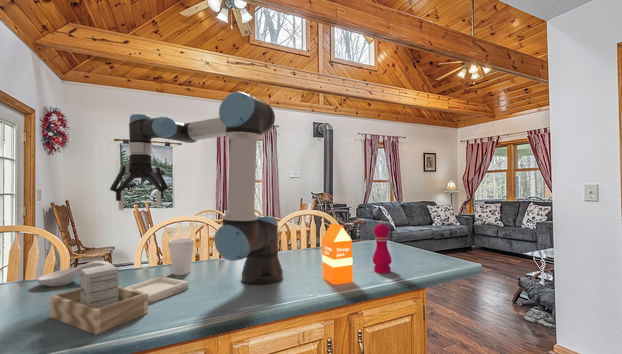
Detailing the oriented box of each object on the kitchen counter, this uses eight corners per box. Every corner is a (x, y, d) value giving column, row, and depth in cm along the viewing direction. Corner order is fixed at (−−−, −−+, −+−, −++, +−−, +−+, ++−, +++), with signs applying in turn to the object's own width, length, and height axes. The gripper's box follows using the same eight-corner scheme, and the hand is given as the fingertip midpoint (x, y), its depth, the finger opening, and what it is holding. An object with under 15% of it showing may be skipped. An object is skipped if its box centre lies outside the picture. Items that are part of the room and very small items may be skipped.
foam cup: (198, 269, 124) (198, 238, 125) (187, 276, 115) (186, 242, 116) (176, 269, 125) (176, 238, 126) (163, 276, 116) (163, 242, 116)
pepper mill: (394, 270, 119) (393, 219, 120) (388, 275, 113) (387, 221, 114) (376, 267, 123) (375, 218, 124) (370, 272, 117) (369, 220, 117)
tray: (188, 288, 101) (188, 281, 101) (149, 303, 89) (149, 295, 89) (161, 283, 108) (161, 276, 108) (121, 296, 95) (121, 288, 95)
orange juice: (333, 285, 103) (332, 226, 103) (322, 277, 111) (321, 223, 112) (353, 281, 106) (352, 224, 107) (340, 274, 114) (339, 222, 115)
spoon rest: (30, 291, 102) (30, 270, 102) (47, 281, 113) (47, 262, 113) (111, 283, 109) (111, 263, 110) (120, 274, 121) (120, 256, 121)
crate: (147, 313, 82) (147, 293, 82) (95, 334, 71) (95, 311, 71) (102, 300, 92) (102, 282, 92) (50, 316, 81) (50, 296, 81)
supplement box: (79, 315, 81) (79, 268, 82) (111, 307, 87) (111, 263, 87) (85, 324, 76) (85, 274, 77) (119, 314, 82) (119, 268, 82)
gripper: (168, 157, 130) (168, 206, 130) (100, 153, 111) (100, 210, 110) (176, 155, 125) (176, 206, 125) (106, 151, 106) (106, 211, 106)
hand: (140, 208), depth 118 cm, fingers open, 13 cm apart
